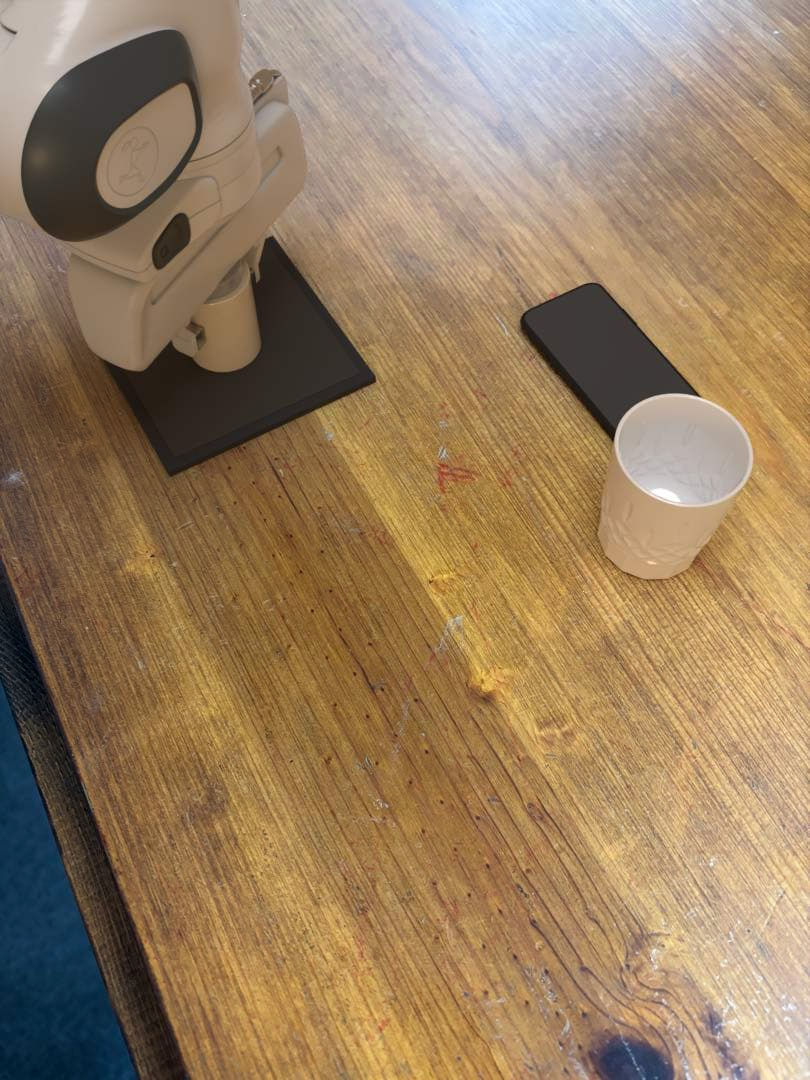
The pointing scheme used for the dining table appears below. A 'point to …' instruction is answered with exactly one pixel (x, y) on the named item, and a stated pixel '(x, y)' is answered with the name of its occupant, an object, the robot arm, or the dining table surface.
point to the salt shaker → (229, 323)
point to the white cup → (670, 483)
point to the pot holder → (247, 375)
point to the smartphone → (601, 352)
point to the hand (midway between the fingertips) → (218, 314)
